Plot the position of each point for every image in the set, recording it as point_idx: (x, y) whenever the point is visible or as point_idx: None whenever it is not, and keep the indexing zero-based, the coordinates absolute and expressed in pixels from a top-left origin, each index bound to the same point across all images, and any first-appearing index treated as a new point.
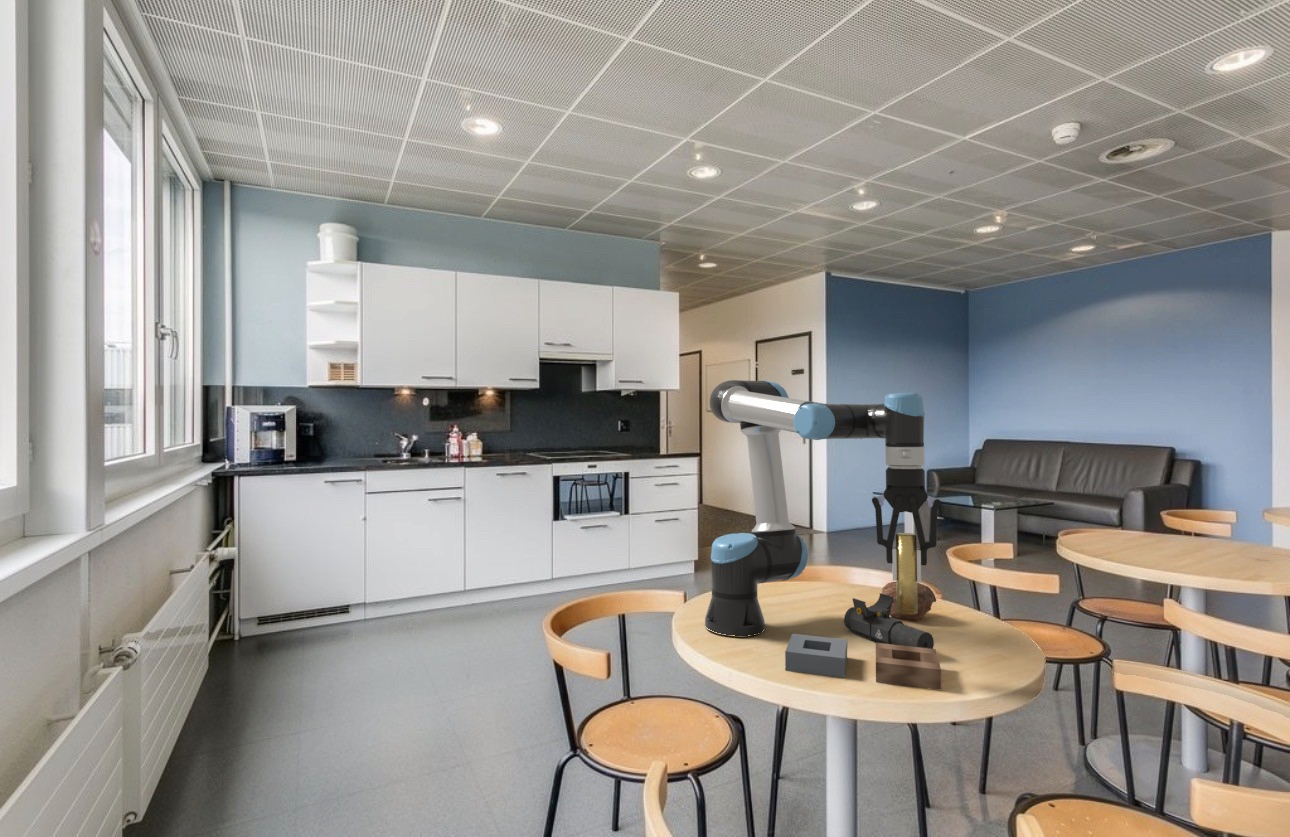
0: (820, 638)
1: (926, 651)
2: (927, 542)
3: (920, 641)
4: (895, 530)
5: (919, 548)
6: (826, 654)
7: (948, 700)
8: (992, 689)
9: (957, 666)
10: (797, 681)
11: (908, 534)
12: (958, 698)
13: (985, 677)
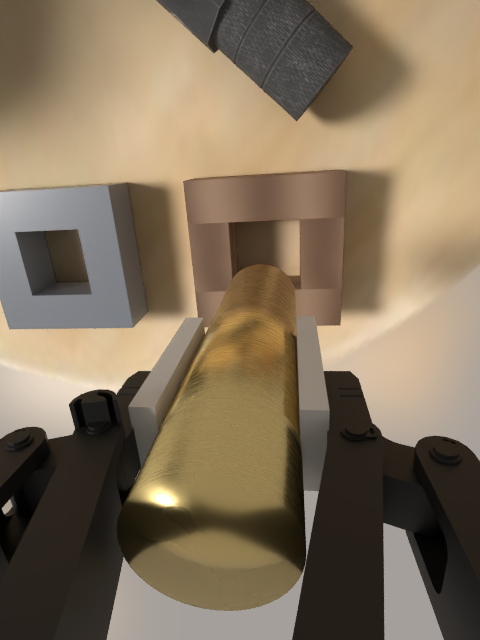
0: (43, 205)
1: (318, 204)
2: (392, 524)
3: (308, 104)
4: (107, 621)
5: (325, 426)
6: (91, 316)
7: (342, 350)
8: (449, 263)
9: (399, 130)
10: (73, 355)
11: (231, 546)
12: (363, 335)
13: (455, 189)
